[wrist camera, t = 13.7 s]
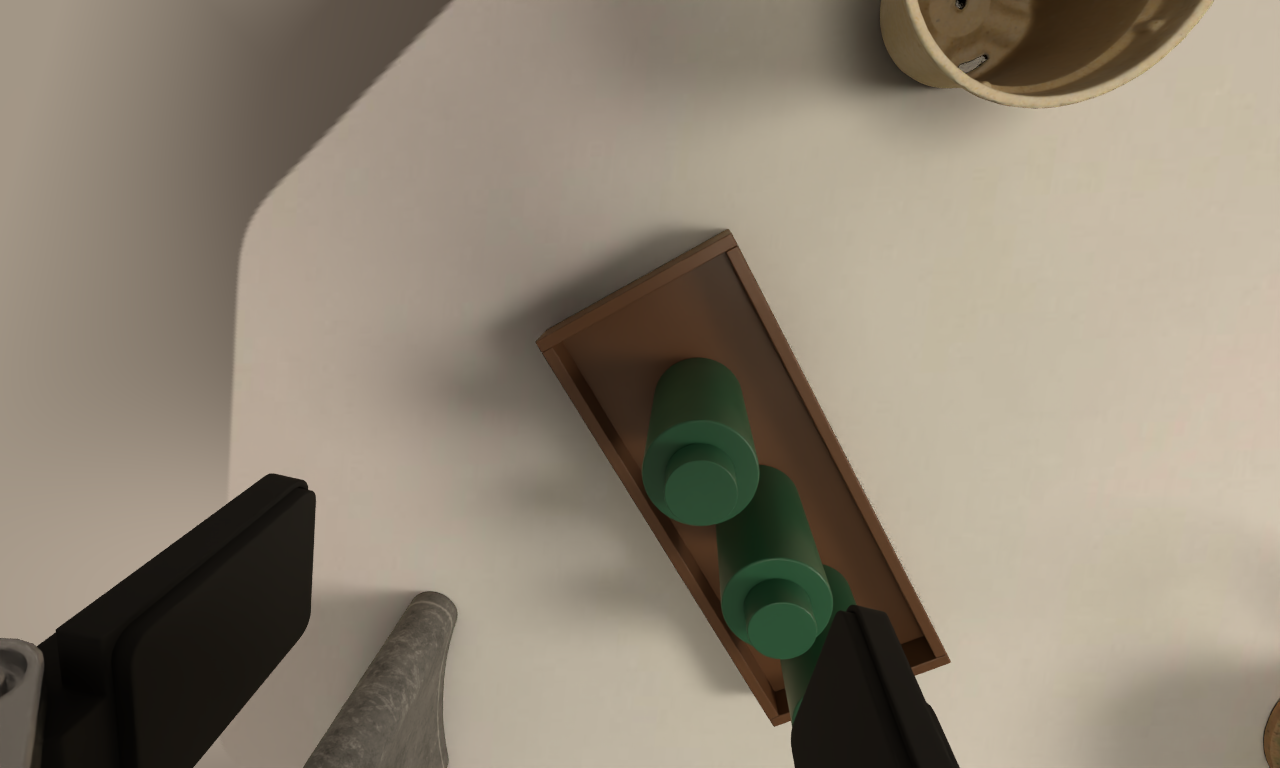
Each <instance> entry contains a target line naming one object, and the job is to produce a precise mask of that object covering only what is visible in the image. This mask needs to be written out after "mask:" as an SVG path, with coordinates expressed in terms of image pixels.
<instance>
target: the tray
mask: <svg viewBox="0 0 1280 768" xmlns="http://www.w3.org/2000/svg"><path fill="white" fill-rule="evenodd" d="M536 344H537V346H538V347H539V349H540V351H541V352H542V354H543V356H544V357H545V359H546V360H547V362H548V364H549V365H550V367H551V368H552V370H553V372H554V373H555V375H556V377H557V378H558V380H559V381H560V383H561V385H562V386H563V388H564V389H565V391H566V393H567V394H568V396H569V397H570V399H571V401H572V402H573V404H574V406H575V407H576V409H577V410H578V412H579V414H580V415H581V417H582V418H583V420H584V422H585V423H586V425H587V426H588V428H589V430H590V431H591V433H592V435H593V436H594V438H595V439H596V441H597V443H598V444H599V446H600V447H601V449H602V451H603V452H604V454H605V456H606V457H607V459H608V460H609V462H610V464H611V465H612V467H613V468H614V470H615V472H616V473H617V475H618V476H619V478H620V480H621V481H622V483H623V485H624V486H625V488H626V489H627V491H628V493H629V494H630V496H631V497H632V499H633V501H634V502H635V504H636V505H637V507H638V509H639V510H640V512H641V514H642V515H643V517H644V518H645V520H646V522H647V523H648V525H649V526H650V528H651V530H652V531H653V533H654V534H655V536H656V538H657V539H658V541H659V543H660V544H661V546H662V547H663V549H664V551H665V552H666V554H667V555H668V557H669V559H670V560H671V562H672V563H673V565H674V567H675V568H676V570H677V572H678V573H679V575H680V576H681V578H682V580H683V581H684V583H685V584H686V586H687V588H688V589H689V591H690V593H691V594H692V596H693V597H694V599H695V601H696V602H697V604H698V605H699V607H700V609H701V610H702V612H703V613H704V615H705V617H706V618H707V620H708V622H709V623H710V625H711V626H712V628H713V630H714V631H715V633H716V634H717V636H718V638H719V639H720V641H721V642H722V644H723V646H724V647H725V649H726V651H727V652H728V654H729V655H730V657H731V659H732V660H733V662H734V663H735V665H736V667H737V668H738V670H739V671H740V673H741V675H742V676H743V678H744V680H745V681H746V683H747V684H748V686H749V688H750V689H751V691H752V692H753V694H754V696H755V697H756V699H757V701H758V702H759V704H760V705H761V707H762V709H763V710H764V712H765V713H766V715H767V717H768V718H769V719H770V721H771V723H772V724H773V726H774V727H775V726H778V725H780V724H783V723H786V722H789V721H791V717H790V712H789V706H788V701H787V695H786V690H785V684H784V679H783V673H782V668H781V662H780V659H774V658H770V657H767V656H765V655H763V654H761V653H759V652H758V651H757V650H756V649H755V648H754V647H753V646H752V645H750V644H747V643H746V642H744V641H743V640H741V639H740V638H738V637H737V636H736V635H735V634H734V633H733V632H732V631H731V629H730V628H729V627H728V625H727V623H726V621H725V620H724V617H723V614H722V608H721V595H720V581H719V566H718V552H717V537H716V524H714V525H708V526H694V525H688V524H684V523H681V522H678V521H675V520H673V519H671V518H669V517H668V516H666V515H665V514H663V513H662V512H661V511H660V510H659V509H658V508H657V507H656V506H655V505H654V504H653V503H652V501H651V500H650V498H649V497H648V495H647V493H646V491H645V488H644V485H643V480H642V464H643V458H644V452H645V446H646V440H647V434H648V428H649V422H650V416H651V411H652V405H653V399H654V393H655V389H656V386H657V383H658V381H659V379H660V378H661V376H662V375H663V373H664V372H665V371H666V370H667V369H668V368H670V367H671V366H672V365H674V364H676V363H677V362H680V361H682V360H685V359H689V358H708V359H712V360H715V361H717V362H719V363H721V364H723V365H724V366H726V367H727V368H728V369H729V370H730V371H731V372H732V373H733V374H734V375H735V377H736V378H737V380H738V382H739V384H740V386H741V390H742V394H743V398H744V402H745V407H746V411H747V415H748V420H749V424H750V428H751V432H752V437H753V441H754V445H755V450H756V454H757V458H758V462H759V465H766V466H770V467H773V468H776V469H778V470H780V471H782V472H783V473H785V474H786V475H787V476H788V477H789V478H790V479H791V480H792V481H793V483H794V484H795V486H796V488H797V491H798V493H799V496H800V499H801V502H802V505H803V508H804V511H805V514H806V517H807V520H808V523H809V526H810V529H811V532H812V535H813V538H814V541H815V544H816V547H817V550H818V553H819V556H820V559H821V562H822V564H824V565H827V566H829V567H831V568H834V569H835V570H837V571H838V572H839V573H840V574H842V575H843V577H844V578H845V579H846V580H847V582H848V584H849V586H850V589H851V591H852V594H853V597H854V599H855V602H856V604H857V605H858V606H862V607H867V608H871V609H875V610H880V611H883V612H885V613H886V614H887V615H888V617H889V619H890V621H891V624H892V626H893V628H894V630H895V633H896V635H897V637H898V640H899V642H900V644H901V646H902V649H903V651H904V653H905V655H906V658H907V660H908V662H909V664H910V667H911V669H912V671H913V674H914V676H915V675H918V674H921V673H924V672H926V671H929V670H932V669H935V668H937V667H940V666H943V665H946V664H948V663H950V662H951V661H950V659H949V657H948V655H947V653H946V651H945V649H944V647H943V645H942V643H941V641H940V639H939V637H938V635H937V633H936V631H935V630H934V628H933V626H932V624H931V622H930V620H929V618H928V616H927V614H926V612H925V610H924V608H923V606H922V604H921V602H920V600H919V598H918V596H917V594H916V592H915V590H914V589H913V587H912V585H911V583H910V581H909V579H908V577H907V575H906V573H905V571H904V569H903V567H902V565H901V563H900V561H899V559H898V557H897V555H896V553H895V551H894V549H893V547H892V546H891V544H890V542H889V540H888V538H887V536H886V534H885V532H884V530H883V528H882V526H881V524H880V522H879V520H878V518H877V516H876V514H875V512H874V510H873V508H872V506H871V505H870V503H869V501H868V499H867V497H866V495H865V493H864V491H863V489H862V487H861V485H860V483H859V481H858V479H857V477H856V475H855V473H854V471H853V469H852V467H851V465H850V464H849V462H848V460H847V458H846V456H845V454H844V452H843V450H842V448H841V446H840V444H839V442H838V440H837V438H836V436H835V434H834V432H833V430H832V428H831V426H830V424H829V422H828V421H827V419H826V417H825V415H824V413H823V411H822V409H821V407H820V405H819V403H818V401H817V399H816V397H815V395H814V393H813V391H812V389H811V387H810V385H809V383H808V381H807V380H806V378H805V376H804V374H803V372H802V370H801V368H800V366H799V364H798V362H797V360H796V358H795V356H794V354H793V352H792V350H791V348H790V346H789V344H788V342H787V340H786V338H785V337H784V335H783V333H782V331H781V329H780V327H779V325H778V323H777V321H776V319H775V317H774V315H773V313H772V311H771V309H770V307H769V305H768V303H767V301H766V299H765V297H764V296H763V294H762V292H761V290H760V288H759V286H758V284H757V282H756V280H755V278H754V276H753V274H752V272H751V270H750V268H749V266H748V264H747V262H746V260H745V258H744V256H743V255H742V253H741V251H740V249H739V247H738V245H737V243H736V241H735V239H734V237H733V235H732V233H731V232H730V230H729V229H727V230H725V231H723V232H721V233H720V234H718V235H716V236H714V237H712V238H711V239H709V240H707V241H705V242H703V243H702V244H700V245H698V246H696V247H694V248H693V249H691V250H689V251H687V252H686V253H684V254H682V255H680V256H678V257H677V258H675V259H673V260H671V261H669V262H668V263H666V264H664V265H662V266H660V267H659V268H657V269H655V270H653V271H651V272H650V273H648V274H646V275H644V276H642V277H641V278H639V279H637V280H635V281H633V282H632V283H630V284H628V285H626V286H625V287H623V288H621V289H619V290H617V291H616V292H614V293H612V294H610V295H608V296H607V297H605V298H603V299H601V300H599V301H598V302H596V303H594V304H592V305H590V306H589V307H587V308H585V309H583V310H581V311H580V312H578V313H576V314H574V315H573V316H571V317H569V318H567V319H565V320H564V321H562V322H560V323H558V324H556V325H555V326H553V327H551V328H549V329H547V330H546V331H545V332H544V333H543V334H542V335H541V336H540V337H539V339H538V340H537V341H536Z"/></svg>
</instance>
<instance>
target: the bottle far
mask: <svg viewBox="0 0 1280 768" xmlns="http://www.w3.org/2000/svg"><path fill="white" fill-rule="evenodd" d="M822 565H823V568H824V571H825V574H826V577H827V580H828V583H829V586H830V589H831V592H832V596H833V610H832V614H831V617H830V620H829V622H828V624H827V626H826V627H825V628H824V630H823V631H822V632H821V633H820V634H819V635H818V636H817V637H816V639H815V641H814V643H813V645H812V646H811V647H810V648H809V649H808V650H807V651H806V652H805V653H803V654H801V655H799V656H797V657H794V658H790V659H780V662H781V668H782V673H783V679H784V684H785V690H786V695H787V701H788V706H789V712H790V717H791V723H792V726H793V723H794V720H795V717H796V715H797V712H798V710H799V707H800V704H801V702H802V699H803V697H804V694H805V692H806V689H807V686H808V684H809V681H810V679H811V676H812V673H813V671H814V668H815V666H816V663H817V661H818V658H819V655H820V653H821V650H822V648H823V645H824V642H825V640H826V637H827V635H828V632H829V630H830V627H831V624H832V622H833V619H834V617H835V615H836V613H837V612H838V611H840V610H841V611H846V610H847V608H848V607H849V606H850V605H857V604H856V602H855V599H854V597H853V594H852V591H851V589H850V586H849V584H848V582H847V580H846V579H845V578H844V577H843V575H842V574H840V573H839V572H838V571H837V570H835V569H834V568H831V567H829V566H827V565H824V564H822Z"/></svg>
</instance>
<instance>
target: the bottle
mask: <svg viewBox="0 0 1280 768" xmlns="http://www.w3.org/2000/svg"><path fill="white" fill-rule="evenodd" d="M759 477H760V469H759V462H758V458H757V454H756V450H755V445H754V441H753V437H752V432H751V428H750V424H749V420H748V415H747V411H746V407H745V402H744V398H743V394H742V390H741V386H740V384H739V382H738V380H737V378H736V377H735V375H734V374H733V373H732V372H731V371H730V370H729V369H728V368H727V367H726V366H724V365H723V364H721V363H719V362H717V361H715V360H712V359H708V358H689V359H685V360H682V361H680V362H677V363H676V364H674V365H672V366H671V367H670V368H668V369H667V370H666V371H665V372H664V373H663V375H662V376H661V378H660V379H659V381H658V383H657V386H656V389H655V393H654V399H653V405H652V411H651V416H650V422H649V428H648V434H647V440H646V446H645V452H644V458H643V464H642V480H643V485H644V488H645V491H646V493H647V495H648V497H649V498H650V500H651V501H652V503H653V504H654V505H655V506H656V507H657V508H658V509H659V510H660V511H661V512H662V513H663V514H665V515H666V516H668V517H669V518H671V519H673V520H675V521H678V522H681V523H684V524H688V525H694V526H708V525H714V524H719V523H722V522H724V521H727V520H729V519H731V518H733V517H734V516H736V515H737V514H739V513H740V512H741V511H742V510H743V509H744V508H745V507H746V506H747V505H748V504H749V503H750V501H751V500H752V498H753V496H754V494H755V492H756V490H757V487H758V483H759Z"/></svg>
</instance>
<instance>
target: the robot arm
mask: <svg viewBox="0 0 1280 768" xmlns="http://www.w3.org/2000/svg"><path fill="white" fill-rule="evenodd" d="M315 507H316V495H315V493H314V492H313V491H310V490H308V485H307V483H306V482H305V481H304V480H300V479H296V478H291V477H287V476H283V475H278V474H268V475H266V476H264V477H263V478H262V479H260V480H259V481H258V482H256V483H255V484H254V485H252V486H251V487H249V488H248V489H247V490H245V491H244V492H243V493H241V494H240V495H239V496H237V497H236V498H234V499H233V500H232V501H230V502H229V503H228V504H226V505H225V506H224V507H222V508H221V509H219V510H218V511H217V512H216V513H214V514H213V515H211V516H210V517H209V518H208V519H206V520H204V521H203V522H202V523H200V524H199V525H198V526H196V527H195V528H194V529H192V530H191V531H189V532H188V533H187V534H185V535H184V536H183V537H182V538H180V539H179V540H177V541H176V542H174V543H173V544H172V545H170V546H169V547H168V548H166V549H165V550H164V551H162V552H161V553H159V554H158V555H157V556H156V557H154V558H153V559H151V560H150V561H149V562H147V563H146V564H145V565H143V566H142V567H141V568H139V569H138V570H136V571H135V572H134V573H132V574H131V575H130V576H128V577H127V578H126V579H124V580H123V581H121V582H120V583H119V584H117V585H116V586H115V587H113V588H112V589H110V590H109V591H108V592H107V593H105V594H104V595H102V596H101V597H99V598H98V599H97V600H95V601H94V602H93V603H91V604H90V605H89V606H87V607H86V608H84V609H83V610H82V611H80V612H79V613H78V614H76V615H75V616H74V617H72V618H71V619H70V620H68V621H67V622H65V623H64V624H63V625H61V626H60V627H59V628H57V629H56V633H54V634H53V635H52V636H50V637H49V638H48V639H46V640H45V641H44V642H42V643H41V644H39V645H38V646H37V647H36V646H35V645H34V644H32V643H29V642H26V641H23V640H20V639H6V638H0V768H193V767H194V766H195V765H196V763H197V762H198V761H199V760H200V759H201V758H202V756H203V755H204V754H205V753H206V752H207V750H208V749H209V748H210V747H211V745H212V744H213V743H214V742H215V741H216V739H217V738H218V737H219V736H220V735H221V733H222V732H223V731H224V730H225V728H226V727H227V726H228V725H229V724H230V722H231V721H232V720H233V719H234V718H235V716H236V715H237V714H238V713H239V711H240V710H241V709H242V708H243V707H244V705H245V704H246V703H247V702H248V701H249V699H250V698H251V697H252V696H253V694H254V693H255V692H256V691H257V690H258V688H259V687H260V686H261V685H262V684H263V682H264V681H265V680H266V679H267V677H268V676H269V675H270V674H271V673H272V671H273V670H274V669H275V668H276V666H277V665H278V664H279V663H280V662H281V660H282V659H283V658H284V657H285V656H286V654H287V653H288V652H289V651H290V649H291V648H292V647H293V646H294V645H295V643H296V642H297V641H298V640H299V639H300V637H301V636H302V634H303V633H304V631H305V629H306V627H307V625H308V622H309V619H310V613H311V594H312V572H313V550H314V529H315ZM791 747H792V753H793V759H794V765H795V768H960V767H959V765H958V763H957V761H956V759H955V756H954V754H953V752H952V750H951V747H950V745H949V743H948V741H947V739H946V736H945V734H944V732H943V730H942V727H941V725H940V723H939V721H938V718H937V716H936V714H935V712H934V711H933V709H932V707H931V706H930V705H929V704H928V703H926V701H925V699H924V696H923V694H922V692H921V689H920V687H919V685H918V683H917V680H916V678H915V676H914V674H913V671H912V669H911V667H910V664H909V662H908V660H907V658H906V655H905V653H904V651H903V649H902V646H901V644H900V642H899V640H898V637H897V635H896V633H895V630H894V628H893V626H892V624H891V621H890V619H889V617H888V615H887V614H886V613H885V612H883V611H880V610H875V609H871V608H867V607H862V606H858V605H850V606H849V607H848V608H847V610H846V611H841V610H840V611H838V612H837V613H836V615H835V617H834V619H833V622H832V624H831V627H830V630H829V632H828V635H827V637H826V640H825V642H824V645H823V648H822V650H821V653H820V655H819V658H818V661H817V663H816V666H815V668H814V671H813V673H812V676H811V679H810V681H809V684H808V686H807V689H806V692H805V694H804V697H803V699H802V702H801V704H800V707H799V710H798V712H797V715H796V717H795V720H794V723H793V726H792V732H791Z"/></svg>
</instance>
